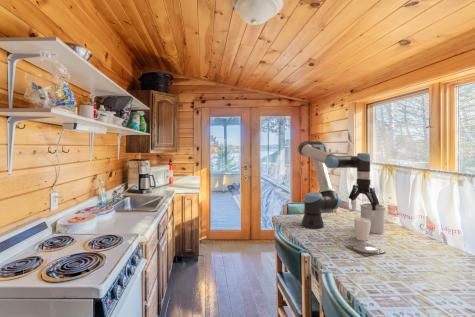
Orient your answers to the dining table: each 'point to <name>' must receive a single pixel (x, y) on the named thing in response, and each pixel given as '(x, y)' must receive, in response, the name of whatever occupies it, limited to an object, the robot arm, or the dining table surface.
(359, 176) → the robot arm
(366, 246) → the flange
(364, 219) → the cup
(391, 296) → the dining table surface
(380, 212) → the utensil holder
